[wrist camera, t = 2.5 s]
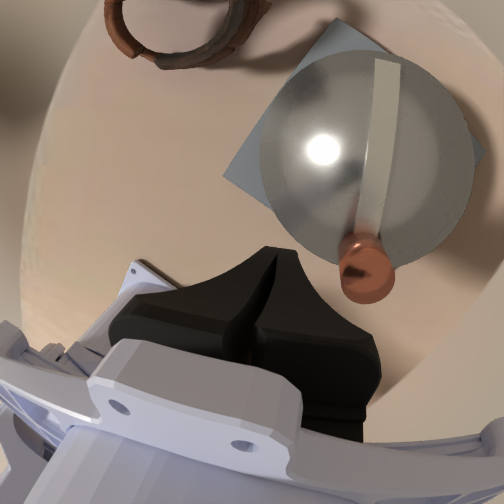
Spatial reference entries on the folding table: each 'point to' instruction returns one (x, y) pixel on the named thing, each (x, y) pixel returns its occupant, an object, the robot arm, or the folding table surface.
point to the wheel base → (247, 158)
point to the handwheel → (366, 165)
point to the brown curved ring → (223, 44)
